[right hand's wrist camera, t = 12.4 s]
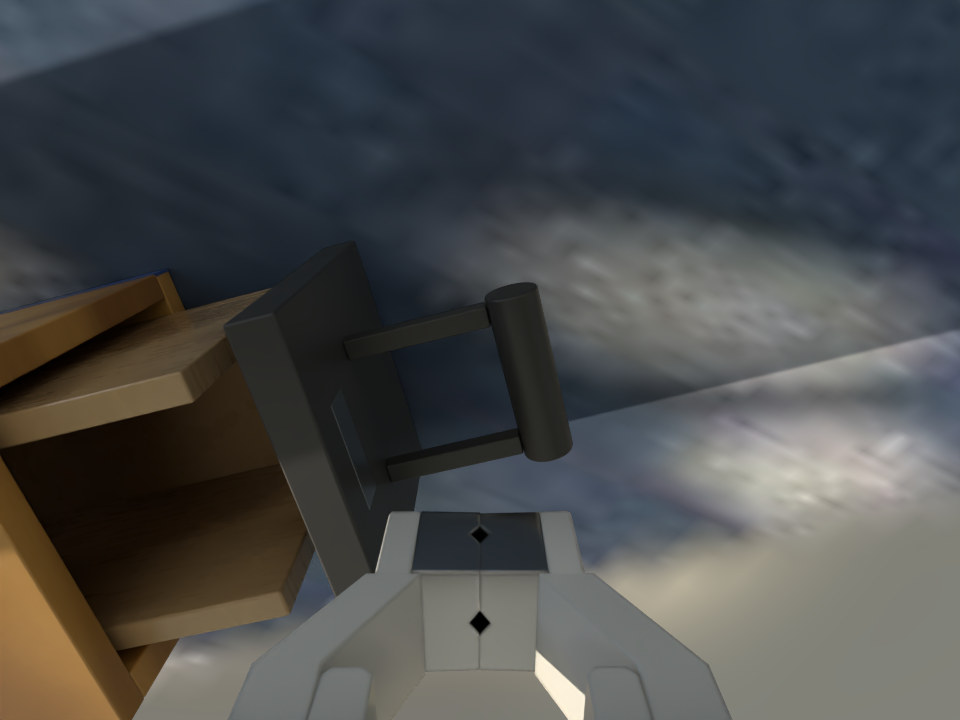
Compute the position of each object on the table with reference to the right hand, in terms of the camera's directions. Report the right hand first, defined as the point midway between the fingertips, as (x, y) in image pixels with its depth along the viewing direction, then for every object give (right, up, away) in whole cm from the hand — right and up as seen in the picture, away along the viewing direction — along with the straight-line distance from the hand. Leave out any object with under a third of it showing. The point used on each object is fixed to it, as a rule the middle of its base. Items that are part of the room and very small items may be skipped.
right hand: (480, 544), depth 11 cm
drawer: (-8, +2, +13) cm, 16 cm away
